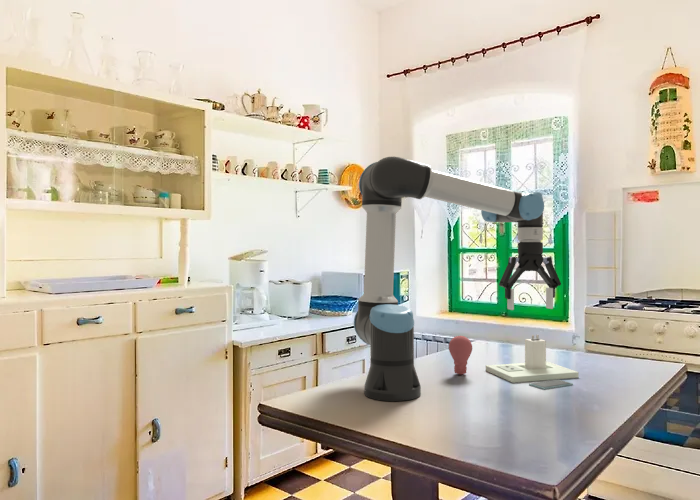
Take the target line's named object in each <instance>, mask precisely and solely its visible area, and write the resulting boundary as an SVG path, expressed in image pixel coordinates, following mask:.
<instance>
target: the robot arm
mask: <svg viewBox="0 0 700 500" xmlns="http://www.w3.org/2000/svg"><path fill="white" fill-rule="evenodd" d="M358 187H359V192H360V194H361V195H362V197H361V208H362V209H363V210H364V211H365V212H366V222H365V223H366V226H365V249H364V253H365V254H364V255H365V257H364V276H363V277H364V280H363V294H362V295H361V296H360V297H359V298H358V299H357V300H358V303H357V304H358V305H357V306H358V307H357V311H356V313H355V315H354V318H353V329H354V331H355V333H356V335H357V336H358V338H359V339H360V340H361V341H362V342H363V343H365V344H366V345H368V346H370V366H369V370H368V373H367V376H366V379H365V382H364V386H363V387H364V388H363V389H364V390H363V391H364V395H365V397H367V398H369V399H372V400H375V401H383V402H402V401H411V400H414V399H417V398H419V397H420V396H421V394H422V390H421V389H422V388H421V384H420V380H419V377H418V374H417V371H416V368H415V357H414V356H415V348H414V347H415V345H414V344H415V343H414V342H415V338H414V337H415V331H414V329H415V320H414V313H413V311H412V310H411V308H410V307H408V306H405V305H399V301H398V299H397V298H396V297H395V295H394V274H395V247H396V224H397V223H396V222H397V221H396V220H397V219H396V218H397V216H396V215H397V214H398V212H399V211H400V210H402V200H403V198H413V199H417V200H422V199H424V198H427V199H428V198H429V199H433V200H437V201H442V202H445V203H450V204H455V205H457V206H462V207H467V208H471V209H474V210H479V211H481V216H482V219H483V221H485V222H488V223H493V224H495V223H517V241H519V242H518V243H517V257H516V256H509V257H508V259H507V260H508V261H507V266H506V268H505V270H504V272H503V274H502V276H501V279H500V281H499V283H498V285H499V286H500V287H502V288H503V289H504V298H505V299H507V300H506V303H507V305H506V306H507V307H506V308H507V310H510V311H514V310H515V288H513V286H514V285H515V284H516V282H517V281H518V280H519V279H520V277H521V276H522V275H523V273H525V272H536V273H537V274H538V275H539V277H541V279H542V280H543V281H544V283H545V284H546V285H547V287H545V308H546V309H548V310H549V309H550V310H553V309H554V298H556V289H557V288H558V287H559V286H561V285H562V283H561V282H562V281H561V280H560V277H559V276H558V273H557V271H556V268H555V267H554V263H553V260H552V259H553V258H552V256H544V257H543V253H544V243H543V242H542V241H543V237H544V235H543V234H544V226H543V225H544V210H545V202H544V199H543V197H544V196H543V194H542V193H541V192H539V191H523V192H522V191H521V192H519V191H517V190H516V191H515V190H511V189H507V188H504V187H499V186H496V185H492V184H490V183H489V184H488V183H485V182H480V181H477V180H472V179H468V178H465V177H460V176H457V175H453V174H449V173H445V172H441V171H438V170H433V169H432V168H431V165H429V164H425V163H422V162H420V161H419V162H418V161H415V160H413V159H412V160H411V159H408V158H404V157H400V156H387V157H383V158H381V159H380V160H378V161H374V162H373V163H371V164H369V165H368V166H366V168H365V169H364V170H362V172H361V174H360V177H359V181H358ZM517 264H518V265H517ZM542 264H544V267H545V268H544V267H543V265H542ZM516 265H517V267H515V266H516ZM515 268H516V269H515ZM514 269H515V271H514ZM545 269H546V270H545Z"/></svg>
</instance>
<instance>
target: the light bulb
mask: <svg viewBox="0 0 700 500" xmlns="http://www.w3.org/2000/svg"><path fill="white" fill-rule="evenodd" d="M448 351H449V353H450V356H451V358H452V359H453V364H454V366H453V371H454V373H455V374H458V375H459V376H460V375H464V374H467V365H468V360H469V358H470V357H471V354H472V351H473V344H472V342H471V341H470V339H469V338H468V337H466V336H464V335H456V336H454V337H453V338H452V339H450V340H449V343H448Z"/></svg>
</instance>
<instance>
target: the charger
mask: <svg viewBox="0 0 700 500" xmlns="http://www.w3.org/2000/svg"><path fill="white" fill-rule="evenodd" d="M535 336H536V337H535ZM546 361H547V340H544V339H542V338H541V339H540V338H539V334H536V335H534V334H531V338H525V339H524V363H525V369H527V370H532V369H546Z"/></svg>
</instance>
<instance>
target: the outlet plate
mask: <svg viewBox="0 0 700 500" xmlns="http://www.w3.org/2000/svg"><path fill="white" fill-rule="evenodd" d="M485 371H486V372H489V373H490V374H492V375H494V376H497V377H499V378H501V379H504V380H505V381H508V382H511V383H513V384H514V383H525V382H538V381H539V382H541V381H550V380H557V379H558V380H561V379H563V380H564V379H574V378H575V379H576V378H579V377H580V375H579V371H577V370H573V369H570V368H568V367H565V366H561V365H559V364H556V363H553V362H550V361H548V360H546V369H532V370H527V369H525V362H521V363H520V362H518V363H506V364H503V363H502V364H489V365H485Z"/></svg>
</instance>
